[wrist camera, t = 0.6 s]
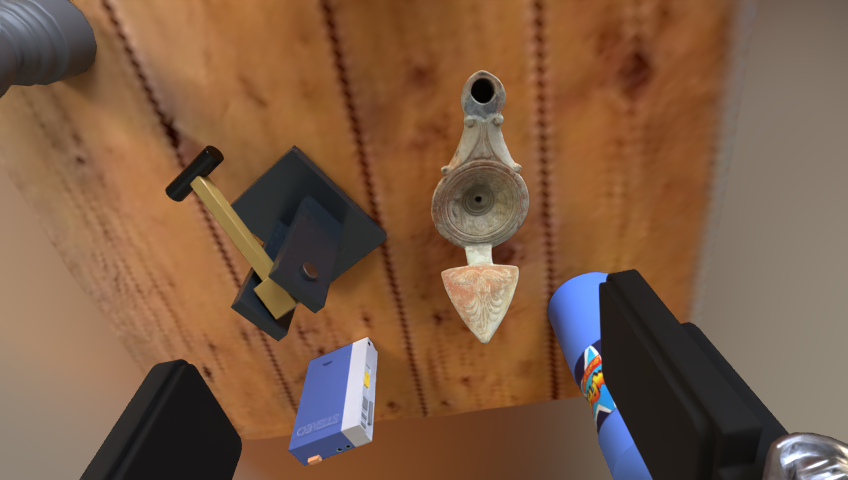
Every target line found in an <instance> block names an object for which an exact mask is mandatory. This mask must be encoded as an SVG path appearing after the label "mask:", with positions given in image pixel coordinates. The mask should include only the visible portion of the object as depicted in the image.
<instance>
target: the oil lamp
mask: <svg viewBox="0 0 848 480" xmlns="http://www.w3.org/2000/svg"><path fill="white" fill-rule="evenodd" d="M505 100H506V93H505V90H504V87H503V85H502V83H501V82H500V80H499V79H498V78H497V77H495V76H494V75H493V74H491V73H490V72H488V71H485V70H481V71H478V72H476V73H475V74H473V75H472V76H471V77H470V78H469V79H468V80H467V81H466V83H465V84H464V86H463V89H462V92H461V106H462V109H463V112H464V115H465V118H464V120H463V123H464V130H463V134H462V137H461V140H460V142H459V145H458V147H457V149H456V152H455V154H454V156H453V158H452V160H451V161H450V163H449V165H448V166H444V167H442V169H441V173H442V174H443V177H442V178H441V180H440V181H439V183H438V185H437V187H436V189H435V191H434V193H433V197H432V201H431V214H432V219H433V223H434V225H435V227H436V229H437V230H438V232H439V233H440V234H441V235H442V236H443V237H444V238H445V239H446V240H447V241H449V242H450V243H452V244H454V245H456V246H459V247H462V248H464V249H465V251H466V257H467V262H468V266H464V267H457V268H451V269H448V270H445V271H443V272H442V273H441V276H442V280H443V283H444V286H445V289H446V291H447V294H448V296H449V298H450V300H451V301H452V303H453V305H454V307H455V308H456V310H457V312H458V313H459V315H460V316H461V318H462V319H463V321H464V322H465V324H466V325H467V326H468V327H469V329H470V330H471V331H472V332H473V333H474V334H475V336H476V337H477V338H478V339H479V340H480V342H481V343H483V344H487V343H488V342H489V341H490V339H491V337H492V336H493V334H494V332H495V331H496V329H497V328H498V326H499V324H500V323H501V321H502V319H503V318H504V316H505V314H506V312H507V310H508V307H509V305H510V303H511V300H512V297H513V294H514V291H515V288H516V285H517V281H518V275H519V271H518V268H517V267H516V266H508V265H496V264H493V262H492V257H491V249H492V248H493V247H495V246H497V245H499V244H501V243H503V242H504V241H506V240H508V239H509V238H510V237H511V236H512V235H513V234H514V233H515V232H516V231H517V230H518V229H519V228H520V227H521V226H522V224H523V222H524V220H525V218H526V215H527V213H528V207H529V194H528V190H527V187H526V184H525V182H524V181H523V179H522V177H521V176H520V175H519V172H520V171H521V170H522V167H521V165H519V164H516V163H515V162H514V161H513V160H512V158H511V156H510V154H509V152H508V150H507V147H506V145H505V142H504V139H503V135H502V132H501V126H500V125H501V124H502V123H503V116H502V115H501V112H502V110H503V108H504V105H505Z"/></svg>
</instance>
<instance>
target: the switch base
mask: <svg viewBox="0 0 848 480" xmlns="http://www.w3.org/2000/svg"><path fill="white" fill-rule="evenodd" d="M230 206H231V207H232V208H233V210H234V211H235V212H236V214H237V215H238V216H239V218H240V219H241V220H242V222H243V223H244V224H245V226H246V227H247V228H248V230H249V231H251V232H252V233H253V234H254V235H256V236H257V237H258V238H259V239H260V240H262V241H263V242H264V243H263V245H262V248H263V250H264V251H265V252H266V254H267V255H268V256H269V257H270V259H271V260H272V261H273V263H274V264H273V266H272V268H271V271H270V273H269V275H268V277H269V278H270V279H271V280H273V281H274V282H275V283H277V284H278V285H279V286H280V287H282V288H283V289H284V290H286V291H287V292H288V293H289V294H291V295H292V296H293V297H295V298H296V299H297V300H298V301H300V302H301V303H302V304H303V305H305V306H306V307H307V308H309V309H310V310H311V311H312V312H314V313H317V312H318V311H319V310H320V309H322V308H323V307H324V306H325V302H326V297H327V293H328V289H329V285H330V283H331V282H332V281H334V280H335V279H336V278H337V277H339V276H340V275H341V274H343V273H344V272H345V271H346V270H348V269H349V268H350V267H352V266H353V265H354V264H356V263H357V262H358V261H359V260H361V259H362V258H363V257H365V256H366V255H367V254H368V253H370V252H371V251H372V250H374V249H375V248H376V247H377V246H379V245H380V244H381V243H383V242H384V241H385V240H386V238H387V233H386V232H385V231H384V230H383V229H381V228H380V227H379V226H378V225H377V224H376V223H375V222H374V221H373V220H372V219H371V218H370V217H369V216H368V215H367V214H366V213H365V212H364V211H363V210H362V209H361V208H360V207H359V206H358V205H356V204H355V203H354V202H353V201H352V200H351V199H350V198H349V197H348V196H347V195H346V194H345V193H344V192H343V191H342V190H341V189H340V188H339V187H338V186H337V185H336V184H335V183H334V182H333V181H331V180H330V179H329V178H328V177H327V176H326V175H325V174H324V173H323V172H322V171H321V170H320V169H319V168H318V167H317V166H316V165H315V164H314V163H313V162H312V161H311V160H310V159H309V158H308V157H306V156H305V155H304V154H303V153H302V152H301V151H300V150H299V149H298V148H297V147H296V146H295V145H294V146H293V147H292V148H291V149H289V150H288V151H287V152H286V153H285V154H284V155H283V156H282V157H281V158H280V159H279V160H278V161H277V162H276V163H275V164H273V165H272V166H271V167H270V168H269V169H268V170H267V171H266V172H265V173H264V174H263V175H262V176H261V177H260V178H258V179H257V180H256V181H255V182H254V183H253V184H252V185H251V186H250V187H249V188H248V189H247V190H246V191H245V192H244V193H242V194H241V195H240V196H239V197H238V198H237V199H236V200H235V201H234V202H233V203H232V204H231V205H230ZM262 282H263V281H262V280H261V278H260V277H259V276H258V274H257V273H256V272H255V270H254V269H253V268H252V267H251V269H250V271H249V273H248V275H247V276H246V278H245V280H244V282H243V284H242V286H241V288H240V290H239V292H238V294H237V296H236V298H235V300H234V302H233V304H232V306H231V308H232V309H234V310H235V311H236V312H238V313H239V314H241V315H242V316H243V317H245V318H246V319H248V320H249V321H250V322H252V323H253V324H255V325H256V326H257V327H259V328H260V329H261V330H263V331H264V332H266V333H267V334H268V335H270V336H271V337H273V338H274V339H275V340H277V341H279V340H281V339H282V338H283V337H285V336H286V335H287V333H288V330H289V326H290V323H291V320H292V317H293V314H294V311H295V308H296V307H295V308H294V309H293V310H291V311H289V312H288V313H286V314H285V315H283V316H282V317H280V318H279V319H275V317H274V316H273V315H272V313H271V312H270V311H269V309H268V308H267V307H266V305H265V304H264V303H263V301H262V300H261V299H260V297H259V296H258V295H257V293H256V292H255V291H254V289H255V288H256V287H257V286H258V285H259V284H261V283H262Z"/></svg>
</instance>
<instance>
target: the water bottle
mask: <svg viewBox="0 0 848 480" xmlns="http://www.w3.org/2000/svg"><path fill="white" fill-rule="evenodd" d="M607 275H608V274H607V273H600V272H597V273H587V274H582V275H580V276H577V277H574V278H572V279H571V280H569V281H567V282H566V283H564V284H563V285H562V286H560V287H559V288H558V290H557V291H556V292H555V293H554V295H553V296H552V298H551V300H550V302H549V305H548V317H549V320H550V323H551V325H552V327H553V330H554V332H555V335H556V337H557V339H558V342H559V344H560V347H561V349H562V351H563V354H564V356H565V359H566V361H567V363H568V366H569V368H570V370H571V373H572V375H573V378H574V380H575V382H576V384H577V385H578V386H579V388H580V390H581V391H582V393H583V394H584V396H585V398H586V399H587V401H588V402H589V404H590V407H591V411H592V414H593V418H594V422H595V425H596V429H597V432H598V441H599V445H600V448H601V450H602V453H603V455H604V458H605V460H606V462H607V465H608V467H609V470H610V472H611V475H612V477H613V480H653V479H652V477H651V475H650V473H649V471H648V469H647V467H646V465H645V463H644V461H643V459H642V457H641V455H640V453H639V451H638V449H637V447H636V445H635V443H634V441H633V439H632V437H631V435H630V433H629V431H628V429H627V427H626V425H625V423H624V421H623V419H622V417H621V415H620V413H619V411H618V409H617V407H616V405H615V403H614V401H613V399H612V397H611V395H610V393H609V391H608V389H607V387H606V385H605V382H604V379H603V375H602V367H601V340H600V312H599V283H601V282H606V277H607Z"/></svg>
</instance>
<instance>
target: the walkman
mask: <svg viewBox="0 0 848 480" xmlns="http://www.w3.org/2000/svg"><path fill="white" fill-rule="evenodd" d="M377 358H378V352H377V351H376V350H375V348H374V344H373V343H372V342H371V340H370V339H369V338H368V337H366V338H364V339H361V340H359V341H356V342H354V343H352V344H349V345H347V346H345V347H342V348H340V349H337V350H335V351H333V352H330V353H328V354H325V355H323V356H321V357H318V358H316V359H313V360H311V361H310V362H309V367H308V371H307V375H306V379H305V383H304V387H303V392H302V396H301V400H300V404H299V408H298V413H297V417H296V421H295V425H294V429H293V434H292V438H291V442H290V446H289V452H290V453H292V454H293V455H294V456H295V457H296V458H297V459H298V460H299V461H300V462H301V463H302V464H303V465H304V466H305V465H308V464H310V465H313V464H316V463H319V462H321V460H322V459H324V458H327V457H330V456H333V455H336V454H338V453H341V452H344V451H347V450H349V449H352V448H355V447H357V446H360V445H363V444H366V443H369V442H371V441H372V432H373V417H374V402H375V387H376V372H377Z"/></svg>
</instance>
